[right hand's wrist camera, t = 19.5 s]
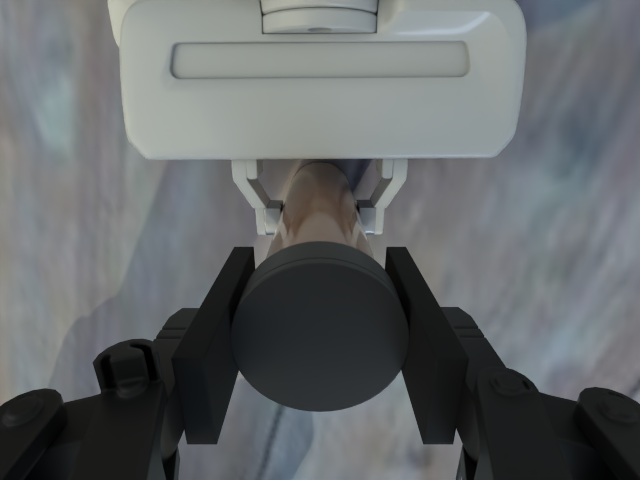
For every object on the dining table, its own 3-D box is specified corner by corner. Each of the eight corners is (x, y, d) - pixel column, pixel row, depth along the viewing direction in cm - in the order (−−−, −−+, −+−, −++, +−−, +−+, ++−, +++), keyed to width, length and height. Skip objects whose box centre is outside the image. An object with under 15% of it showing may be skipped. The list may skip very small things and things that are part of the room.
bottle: (350, 219, 29) (391, 386, 12) (292, 221, 29) (254, 390, 12) (349, 160, 27) (396, 261, 10) (288, 163, 27) (237, 267, 10)
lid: (320, 206, 11) (320, 224, 9) (430, 313, 12) (446, 344, 11) (208, 313, 12) (192, 344, 11) (319, 398, 14) (319, 437, 12)
